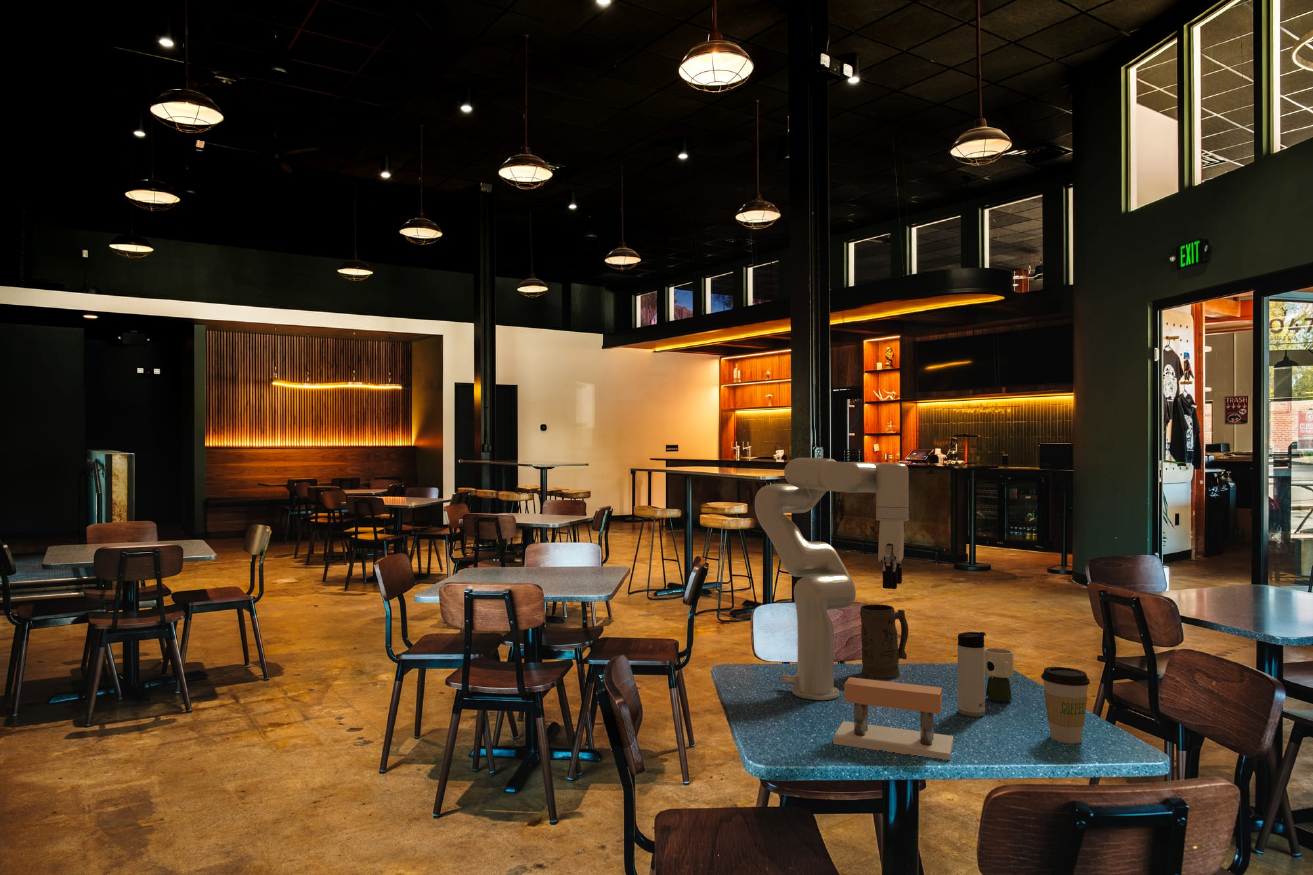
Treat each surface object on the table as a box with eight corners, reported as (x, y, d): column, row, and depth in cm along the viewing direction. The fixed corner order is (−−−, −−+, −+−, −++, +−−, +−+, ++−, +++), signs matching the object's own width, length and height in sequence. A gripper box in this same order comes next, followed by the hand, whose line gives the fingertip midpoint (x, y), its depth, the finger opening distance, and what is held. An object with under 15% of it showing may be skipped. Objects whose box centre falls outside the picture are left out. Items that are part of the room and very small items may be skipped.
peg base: (833, 743, 173) (833, 736, 173) (843, 727, 184) (843, 721, 184) (950, 760, 163) (949, 753, 163) (953, 742, 174) (953, 735, 174)
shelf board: (844, 701, 175) (844, 683, 176) (849, 694, 181) (849, 677, 181) (940, 713, 167) (939, 694, 167) (942, 706, 173) (941, 687, 173)
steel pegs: (853, 735, 174) (853, 702, 174) (857, 727, 180) (857, 696, 180) (931, 746, 168) (931, 712, 168) (934, 737, 173) (933, 705, 173)
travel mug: (988, 718, 192) (988, 635, 193) (960, 716, 194) (959, 633, 194) (983, 710, 198) (983, 630, 199) (955, 708, 200) (955, 628, 200)
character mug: (977, 694, 213) (976, 645, 213) (1003, 694, 213) (1003, 646, 213) (993, 706, 202) (993, 655, 202) (1021, 706, 202) (1021, 655, 202)
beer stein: (878, 681, 225) (877, 610, 226) (852, 672, 235) (852, 604, 235) (917, 675, 232) (917, 606, 233) (891, 667, 242) (890, 601, 243)
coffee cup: (1089, 749, 171) (1088, 679, 172) (1039, 740, 176) (1038, 672, 177) (1092, 736, 179) (1091, 669, 180) (1044, 728, 185) (1043, 663, 185)
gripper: (881, 512, 200) (881, 580, 199) (870, 515, 184) (870, 589, 183) (912, 513, 197) (912, 582, 196) (904, 516, 181) (904, 592, 180)
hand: (892, 585), depth 189 cm, fingers open, 9 cm apart
